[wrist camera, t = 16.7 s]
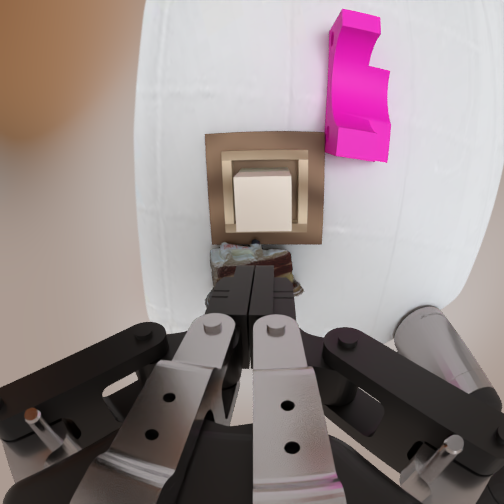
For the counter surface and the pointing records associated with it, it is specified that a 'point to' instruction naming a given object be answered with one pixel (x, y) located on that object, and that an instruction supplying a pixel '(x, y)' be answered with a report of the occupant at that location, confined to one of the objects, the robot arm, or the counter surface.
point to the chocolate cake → (250, 262)
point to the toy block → (356, 91)
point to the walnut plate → (267, 156)
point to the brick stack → (263, 199)
